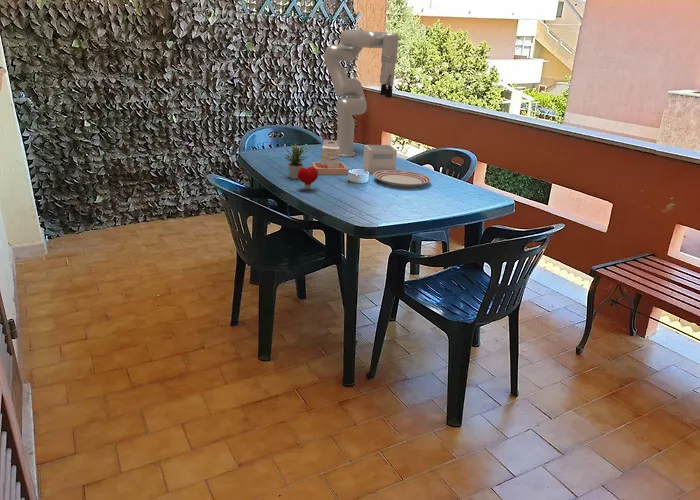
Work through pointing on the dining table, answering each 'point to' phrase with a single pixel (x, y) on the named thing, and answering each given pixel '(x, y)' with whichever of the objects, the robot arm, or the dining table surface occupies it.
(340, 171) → the tray
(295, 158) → the house plant
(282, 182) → the dining table surface
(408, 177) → the dinner plate
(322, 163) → the ink cartridge box
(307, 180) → the red heart ornament
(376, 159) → the grey unit
